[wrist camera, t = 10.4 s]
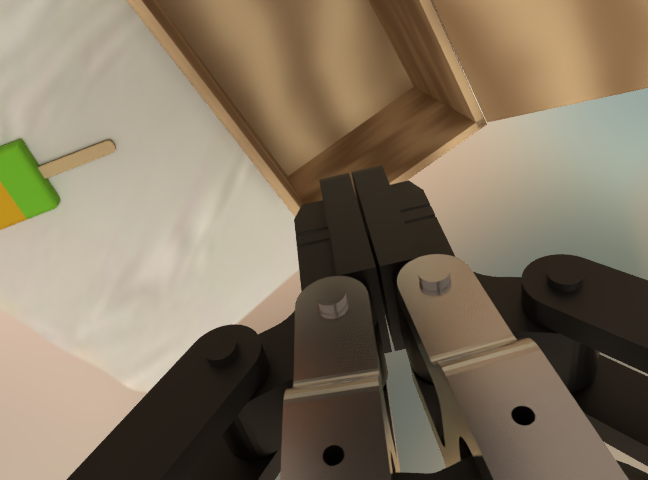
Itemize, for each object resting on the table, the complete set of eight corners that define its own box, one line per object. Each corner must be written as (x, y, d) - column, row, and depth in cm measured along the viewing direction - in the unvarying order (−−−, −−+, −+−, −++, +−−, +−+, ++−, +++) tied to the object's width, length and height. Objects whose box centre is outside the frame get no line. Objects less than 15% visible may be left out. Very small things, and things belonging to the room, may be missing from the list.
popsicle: (-102, 182, 39) (-113, 193, 38) (96, 107, 41) (94, 114, 39) (-52, 243, 42) (-60, 255, 41) (131, 171, 43) (131, 180, 42)
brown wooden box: (284, 183, 47) (316, 243, 37) (118, -37, 36) (104, -29, 27) (419, 86, 46) (486, 124, 37) (289, -169, 35) (337, -207, 26)
